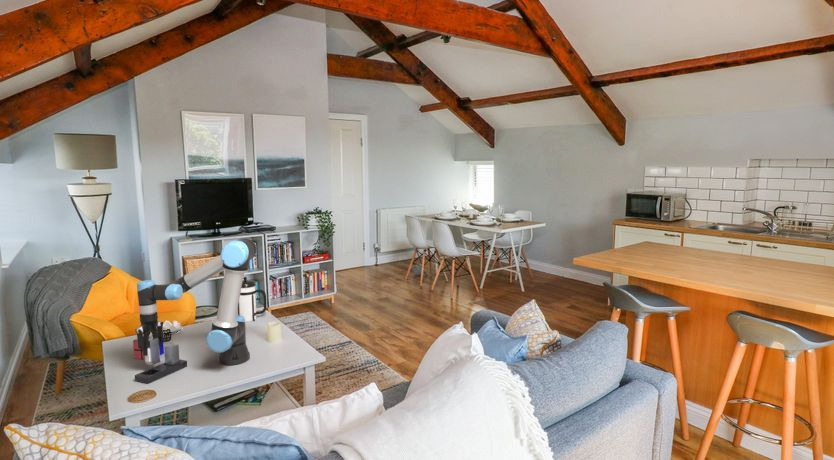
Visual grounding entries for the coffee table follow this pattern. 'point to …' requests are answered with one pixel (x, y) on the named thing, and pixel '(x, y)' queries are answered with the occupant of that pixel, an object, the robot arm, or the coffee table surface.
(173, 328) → the lotus flower
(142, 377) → the rail
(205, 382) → the coffee table surface
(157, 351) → the steel peg
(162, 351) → the puzzle cube
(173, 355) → the seated peg
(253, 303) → the coffee press
